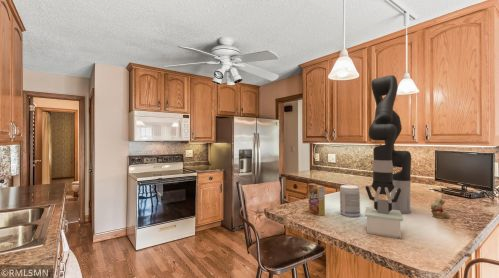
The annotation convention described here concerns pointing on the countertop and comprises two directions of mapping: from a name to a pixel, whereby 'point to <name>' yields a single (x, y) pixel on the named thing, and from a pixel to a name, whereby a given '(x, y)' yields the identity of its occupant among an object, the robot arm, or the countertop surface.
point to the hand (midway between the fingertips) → (382, 210)
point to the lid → (383, 212)
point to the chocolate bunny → (439, 210)
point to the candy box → (316, 199)
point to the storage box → (383, 227)
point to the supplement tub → (349, 200)
